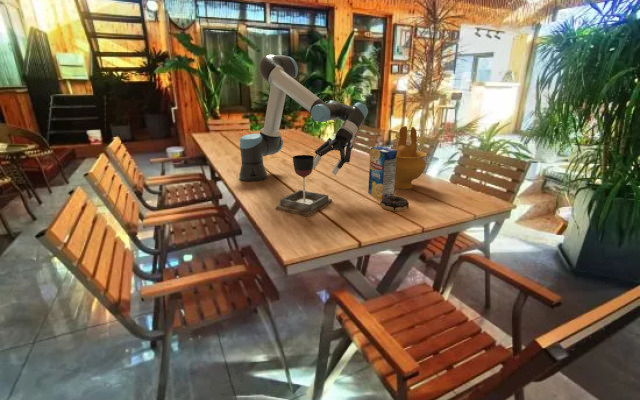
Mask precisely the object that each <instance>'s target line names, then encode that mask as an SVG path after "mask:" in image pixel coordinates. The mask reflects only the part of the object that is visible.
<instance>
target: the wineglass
mask: <svg viewBox="0 0 640 400" xmlns="http://www.w3.org/2000/svg"><path fill="white" fill-rule="evenodd" d="M314 158H315V156H314V155H310V154H297V155H294V156H292V162H293V167H294V171H295V174H296V175H298V176H299V177H300V178H301V177H302V190H303V199H301V200H297V201H296V202H300V203H304V204H311V203H313V201H312V200H309V199H305V191H306V187H305V186H306V183H305V181H306V180H305V178H306V177H308V176H309V175H311V174H312V172H313V170H314V169H313V163H314Z"/></svg>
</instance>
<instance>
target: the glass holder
mask: <svg viewBox="0 0 640 400" xmlns="http://www.w3.org/2000/svg"><path fill="white" fill-rule="evenodd" d="M301 199H303V189H299V190H297V191H295V192H293V193H291V194H288V195H286V196H284V197H282V198H281V199H280V204H278V205H276V206H275V209H276V210H278V211H283V212H287V213H292V214H295V215H300V216H303V217H307V218H309V217H310V216H311V215H313V214H315V213H317V212H318V211H319V210H321V209H322V208H324V207H326V206H328V205H329V204H331V203H332V202H333V199H332V198H329V195H328V194H324V193H319V192H313V191H309V190H305V199H309V200H312V201H313V203H311V204H304V203H300V202H296V201H297V200H301Z"/></svg>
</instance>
